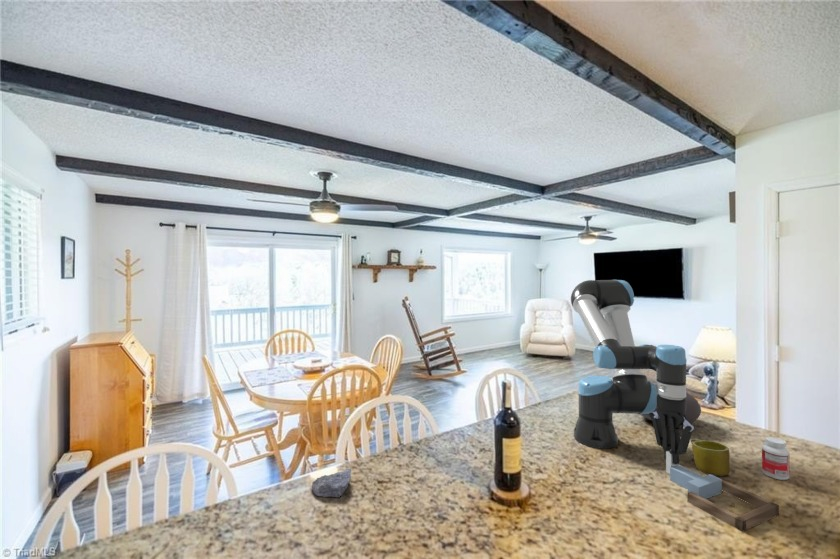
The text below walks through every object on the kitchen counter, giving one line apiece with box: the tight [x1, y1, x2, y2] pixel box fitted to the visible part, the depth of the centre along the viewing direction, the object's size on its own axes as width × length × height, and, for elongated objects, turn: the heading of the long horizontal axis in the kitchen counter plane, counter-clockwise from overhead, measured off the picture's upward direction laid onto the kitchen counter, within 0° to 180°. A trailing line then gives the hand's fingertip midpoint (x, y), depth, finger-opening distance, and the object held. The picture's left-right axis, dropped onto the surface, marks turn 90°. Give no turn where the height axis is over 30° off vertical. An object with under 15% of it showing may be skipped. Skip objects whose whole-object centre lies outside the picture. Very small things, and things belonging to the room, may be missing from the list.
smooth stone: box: [639, 383, 702, 426], centre depth 155 cm, size 25×25×15 cm
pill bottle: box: [761, 436, 790, 481], centre depth 113 cm, size 6×6×11 cm
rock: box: [311, 468, 352, 498], centre depth 108 cm, size 12×5×10 cm
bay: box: [687, 479, 780, 532], centre depth 98 cm, size 13×16×2 cm
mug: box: [690, 438, 731, 477], centre depth 118 cm, size 12×10×10 cm
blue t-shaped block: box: [669, 464, 723, 500], centre depth 107 cm, size 10×10×4 cm
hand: (671, 472), depth 113 cm, fingers closed
